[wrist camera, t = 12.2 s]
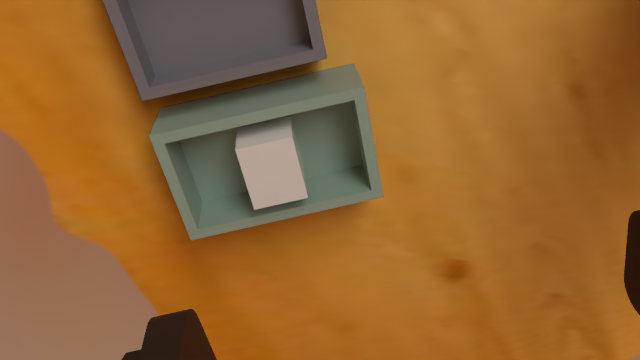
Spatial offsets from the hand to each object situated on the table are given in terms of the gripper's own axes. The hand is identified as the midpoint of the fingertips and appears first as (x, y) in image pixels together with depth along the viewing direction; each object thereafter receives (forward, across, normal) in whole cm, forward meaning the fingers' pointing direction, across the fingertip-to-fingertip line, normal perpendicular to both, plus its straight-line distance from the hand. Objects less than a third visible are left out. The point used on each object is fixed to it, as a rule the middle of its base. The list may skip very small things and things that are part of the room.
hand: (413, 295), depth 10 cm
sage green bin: (+33, +5, +11) cm, 35 cm away
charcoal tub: (+33, +6, 0) cm, 33 cm away
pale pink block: (+32, +5, +11) cm, 34 cm away
